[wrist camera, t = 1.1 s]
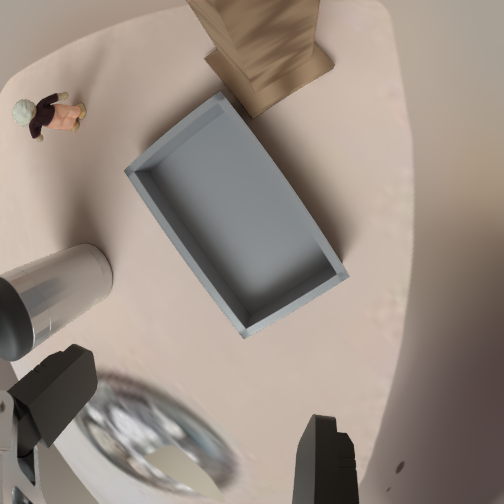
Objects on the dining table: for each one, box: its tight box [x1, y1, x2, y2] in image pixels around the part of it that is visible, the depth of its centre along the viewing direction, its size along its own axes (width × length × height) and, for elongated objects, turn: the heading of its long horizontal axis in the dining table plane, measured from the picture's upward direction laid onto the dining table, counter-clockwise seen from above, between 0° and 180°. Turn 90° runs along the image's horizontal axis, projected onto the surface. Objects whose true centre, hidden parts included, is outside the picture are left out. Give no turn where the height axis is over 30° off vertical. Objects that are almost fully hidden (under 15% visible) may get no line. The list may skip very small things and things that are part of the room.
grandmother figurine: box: [12, 92, 86, 142], centre depth 29 cm, size 8×4×13 cm, turn 152°
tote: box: [124, 91, 350, 339], centre depth 33 cm, size 14×24×5 cm, turn 35°
